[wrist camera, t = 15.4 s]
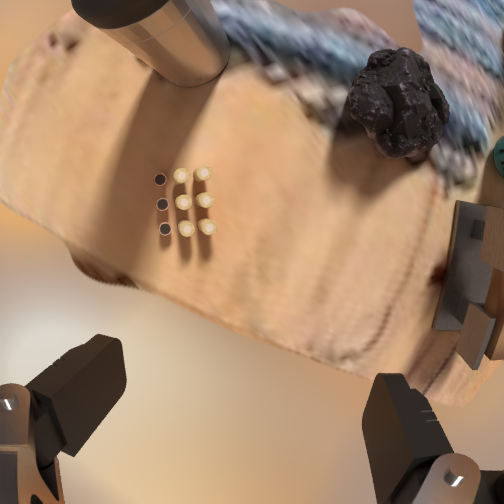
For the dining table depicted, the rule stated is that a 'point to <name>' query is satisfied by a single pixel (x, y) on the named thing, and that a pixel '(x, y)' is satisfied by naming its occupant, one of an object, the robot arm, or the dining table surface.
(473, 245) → the bracket stand
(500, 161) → the beverage bottle
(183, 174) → the ammunition
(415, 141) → the crystal cluster
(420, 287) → the dining table surface
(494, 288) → the walnut rail
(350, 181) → the dining table surface
